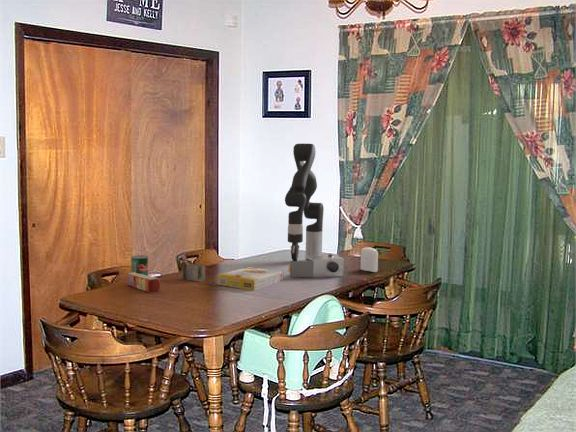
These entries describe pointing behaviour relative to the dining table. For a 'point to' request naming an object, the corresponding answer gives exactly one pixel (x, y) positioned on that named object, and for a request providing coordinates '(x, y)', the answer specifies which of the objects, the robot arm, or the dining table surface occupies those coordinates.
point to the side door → (301, 268)
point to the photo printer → (369, 259)
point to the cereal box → (250, 278)
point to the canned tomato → (139, 264)
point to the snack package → (143, 282)
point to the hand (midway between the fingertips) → (294, 266)
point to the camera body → (326, 265)
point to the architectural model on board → (193, 272)
